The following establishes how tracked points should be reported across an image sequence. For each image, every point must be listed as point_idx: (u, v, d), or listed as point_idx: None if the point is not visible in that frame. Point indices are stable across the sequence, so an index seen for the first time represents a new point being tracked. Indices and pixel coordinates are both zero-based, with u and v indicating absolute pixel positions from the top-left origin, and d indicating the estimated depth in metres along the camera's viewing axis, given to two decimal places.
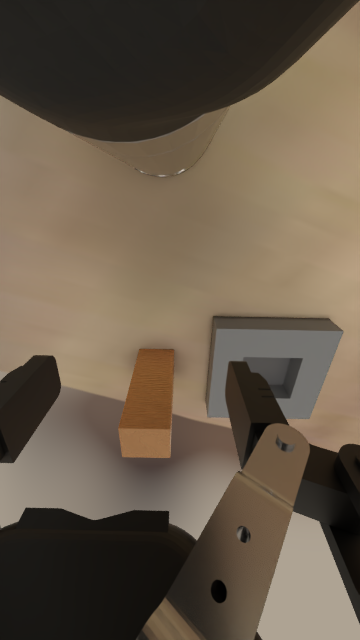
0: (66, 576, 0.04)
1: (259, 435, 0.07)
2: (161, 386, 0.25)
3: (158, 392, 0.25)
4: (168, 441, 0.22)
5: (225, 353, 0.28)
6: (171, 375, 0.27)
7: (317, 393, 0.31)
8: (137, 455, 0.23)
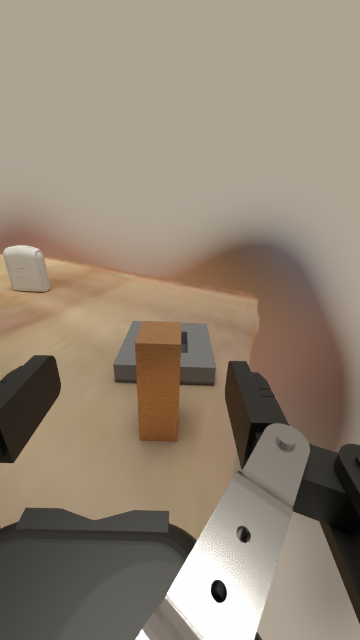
0: (66, 576, 0.04)
1: (259, 435, 0.07)
2: None
3: None
4: (158, 322, 0.25)
5: None
6: None
7: (181, 323, 0.45)
8: (178, 336, 0.22)
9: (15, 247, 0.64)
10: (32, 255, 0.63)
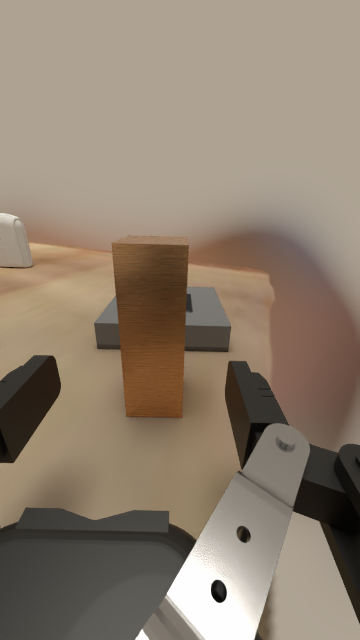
0: (66, 576, 0.04)
1: (259, 435, 0.07)
2: None
3: None
4: (152, 236, 0.16)
5: None
6: None
7: None
8: (182, 241, 0.14)
9: None
10: (10, 222, 0.55)
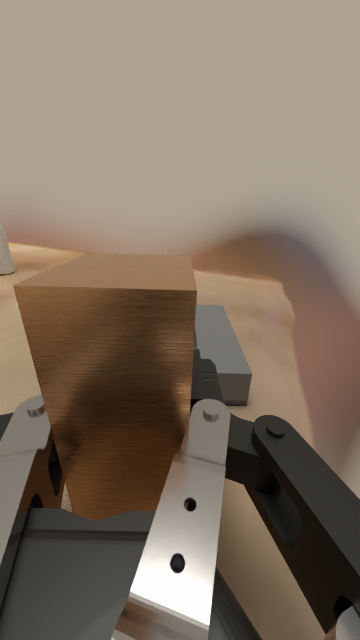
0: (66, 576, 0.04)
1: None
2: None
3: None
4: (128, 254, 0.09)
5: None
6: None
7: None
8: (183, 274, 0.07)
9: None
10: None
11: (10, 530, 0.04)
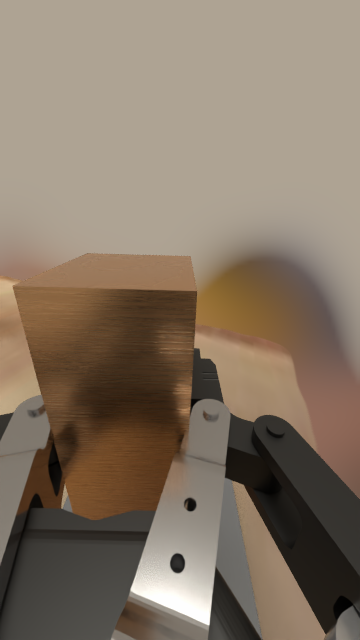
0: (66, 576, 0.04)
1: None
2: None
3: None
4: (128, 255, 0.09)
5: None
6: None
7: None
8: (183, 275, 0.07)
9: None
10: None
11: (10, 530, 0.04)
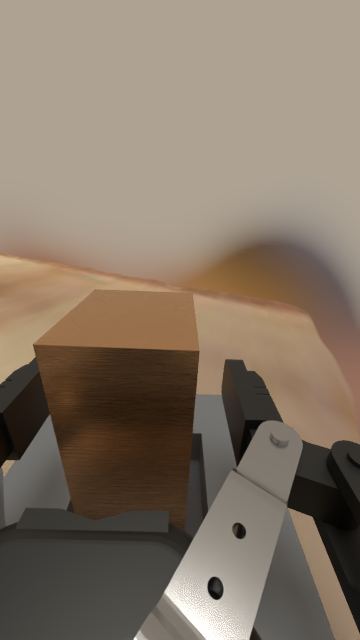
0: (66, 576, 0.04)
1: (253, 432, 0.08)
2: None
3: None
4: (134, 292, 0.10)
5: None
6: None
7: None
8: (186, 324, 0.07)
9: None
10: None
11: None
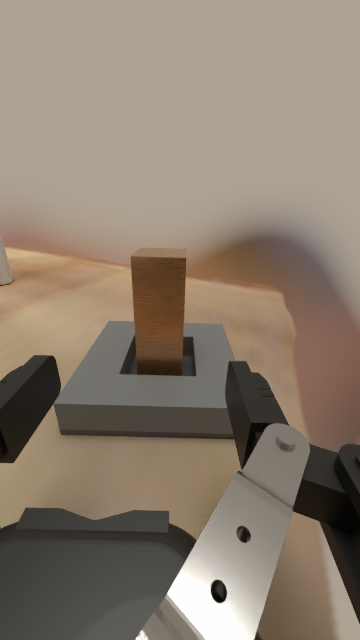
0: (66, 576, 0.04)
1: (259, 435, 0.07)
2: None
3: None
4: (158, 248, 0.21)
5: (105, 392, 0.18)
6: None
7: (184, 323, 0.29)
8: (182, 254, 0.19)
9: None
10: None
11: None
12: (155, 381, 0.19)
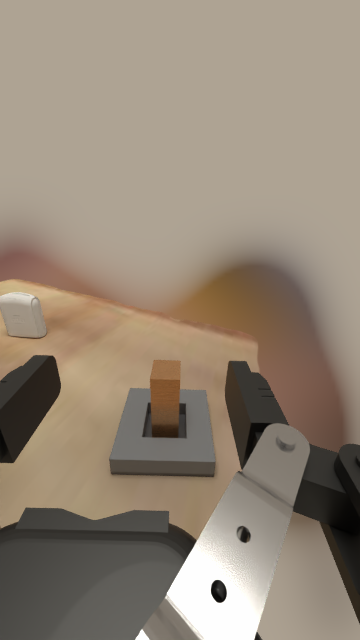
0: (66, 576, 0.04)
1: (259, 435, 0.07)
2: None
3: None
4: (164, 360, 0.36)
5: (135, 450, 0.33)
6: None
7: (180, 390, 0.44)
8: (178, 373, 0.33)
9: (10, 295, 0.63)
10: (28, 303, 0.62)
11: None
12: (163, 442, 0.34)
